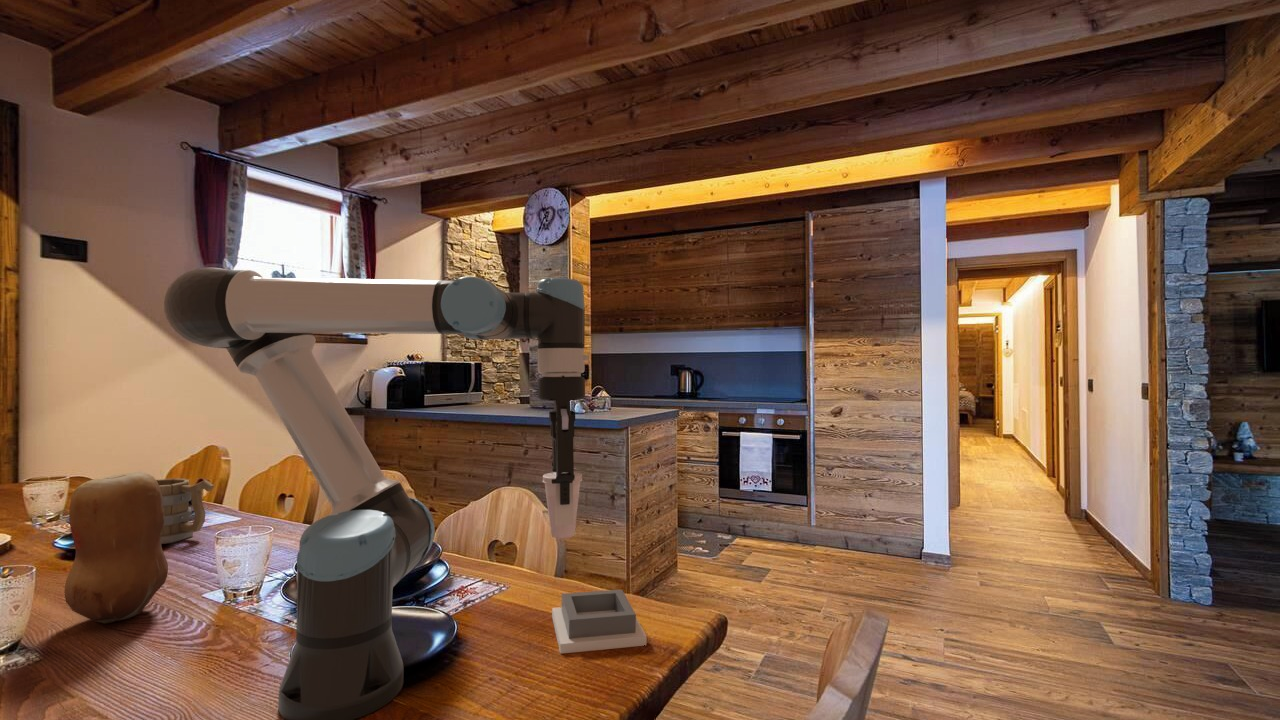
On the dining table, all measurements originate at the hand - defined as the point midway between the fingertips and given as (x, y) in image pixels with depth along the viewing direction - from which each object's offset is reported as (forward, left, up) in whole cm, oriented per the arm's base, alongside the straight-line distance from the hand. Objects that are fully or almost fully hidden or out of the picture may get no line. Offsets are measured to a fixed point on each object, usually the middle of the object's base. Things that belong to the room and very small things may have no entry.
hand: (562, 518), depth 93 cm
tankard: (-88, +75, -21) cm, 118 cm away
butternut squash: (-73, +25, -21) cm, 80 cm away
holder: (+7, +5, -21) cm, 22 cm away
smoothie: (0, 0, -3) cm, 3 cm away
